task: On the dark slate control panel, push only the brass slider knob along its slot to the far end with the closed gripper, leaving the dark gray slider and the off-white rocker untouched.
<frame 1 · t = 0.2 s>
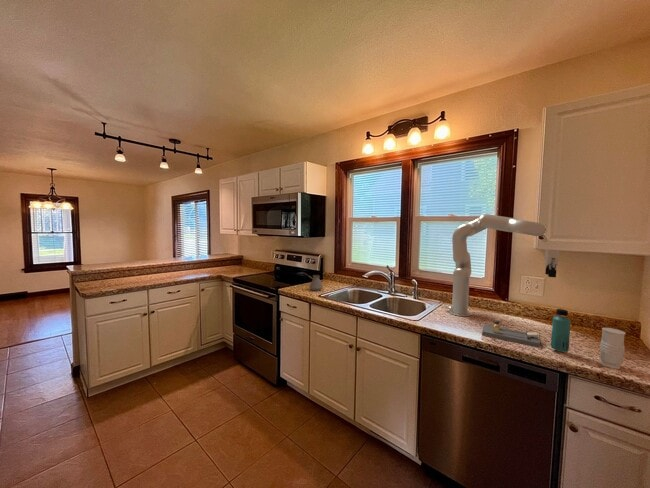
hand: (550, 275, 149), 31 cm above the worktop, fingers open, 9 cm apart
dark gray slider: (496, 324, 146), point 4 cm above the worktop, slide at 0.0 cm
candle: (610, 365, 112), on the worktop
beverage bottle: (559, 352, 123), on the worktop
brass slider: (496, 328, 140), point 4 cm above the worktop, slide at 0.0 cm
rocker: (532, 334, 134), point 4 cm above the worktop, hinge at -15.0°
gray watering can: (311, 289, 236), on the worktop
panel: (509, 336, 140), on the worktop
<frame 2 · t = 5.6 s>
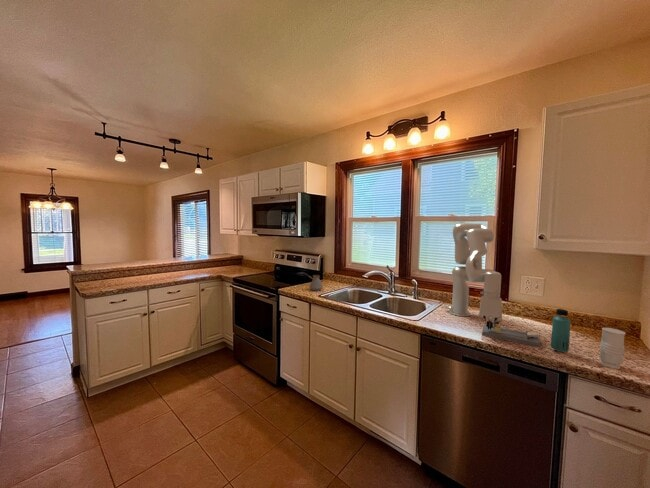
hand: (489, 328, 141), 3 cm above the worktop, fingers closed
brass slider: (497, 328, 139), point 4 cm above the worktop, slide at 0.5 cm, touching gripper
everything else where it was.
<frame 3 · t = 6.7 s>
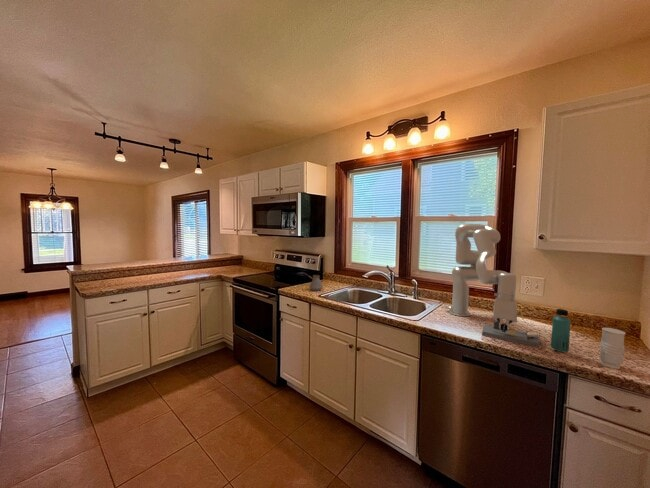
hand: (503, 331, 138), 3 cm above the worktop, fingers closed
brass slider: (511, 331, 136), point 4 cm above the worktop, slide at 6.9 cm, touching gripper
everything else where it was.
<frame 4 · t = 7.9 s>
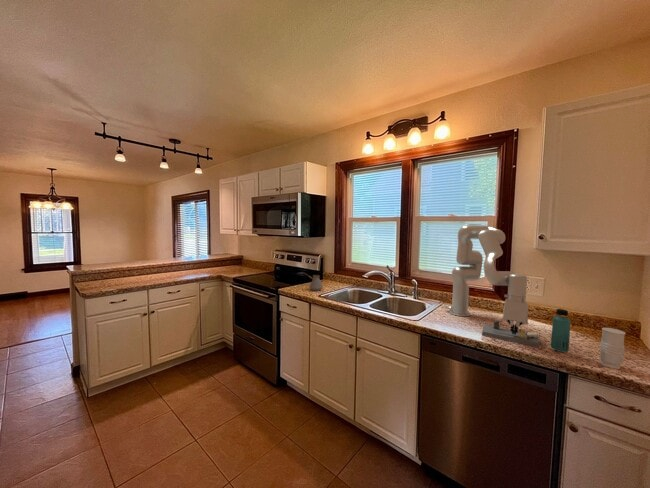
hand: (513, 333, 135), 3 cm above the worktop, fingers closed
brass slider: (522, 333, 134), point 4 cm above the worktop, slide at 11.1 cm, touching gripper
everything else where it was.
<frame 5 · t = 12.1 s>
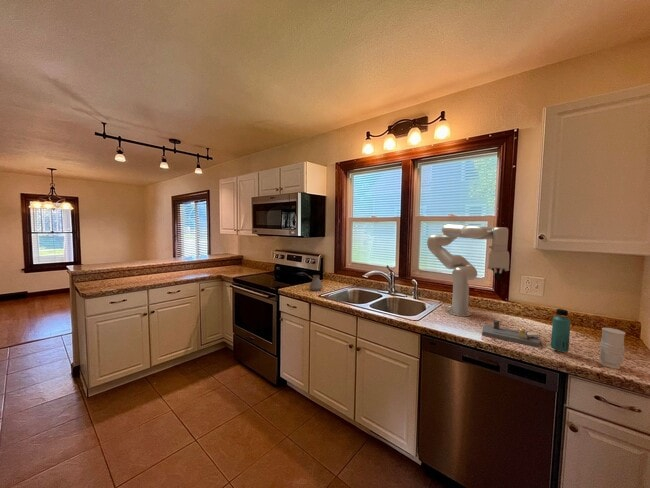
hand: (497, 279, 155), 27 cm above the worktop, fingers closed
brass slider: (522, 333, 134), point 4 cm above the worktop, slide at 11.0 cm
everything else where it was.
at the end: brass slider slide at 11.0 cm; dark gray slider slide at 0.0 cm; rocker at -15° (first picture: -15°) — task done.
